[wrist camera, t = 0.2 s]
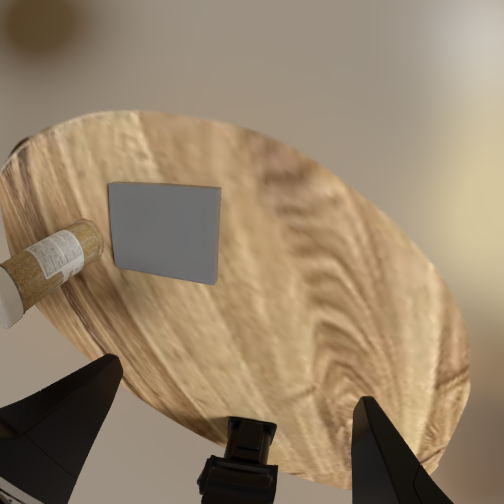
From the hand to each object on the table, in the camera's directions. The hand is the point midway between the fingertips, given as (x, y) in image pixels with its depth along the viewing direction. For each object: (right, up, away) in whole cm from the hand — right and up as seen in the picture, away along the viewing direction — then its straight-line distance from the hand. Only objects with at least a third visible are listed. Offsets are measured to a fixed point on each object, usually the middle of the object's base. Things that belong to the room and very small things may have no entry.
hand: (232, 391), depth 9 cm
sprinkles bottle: (-16, +6, +16) cm, 24 cm away
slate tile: (-7, +7, +14) cm, 17 cm away
